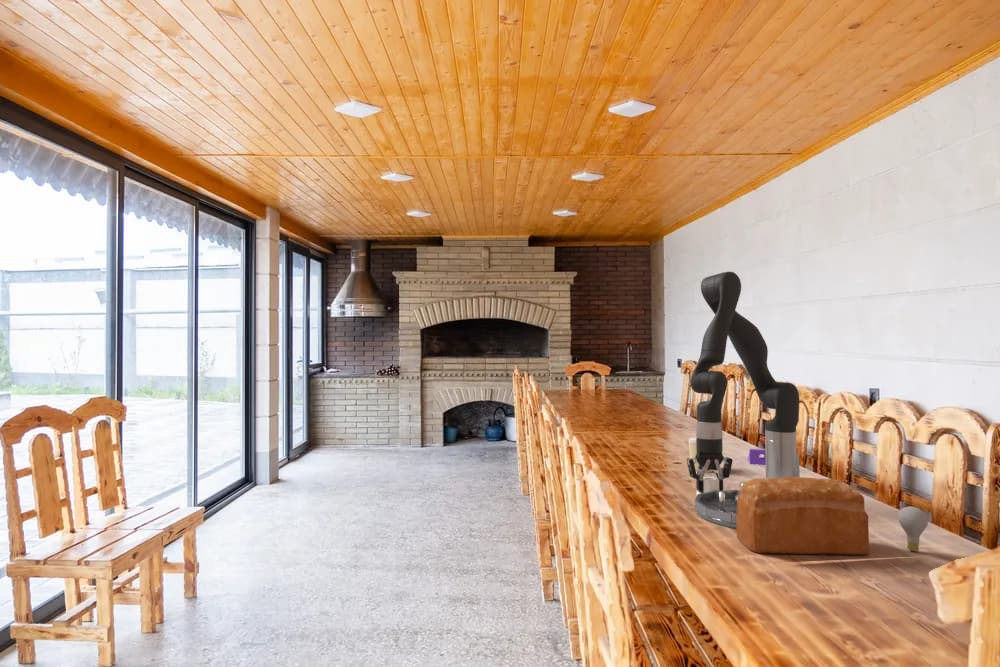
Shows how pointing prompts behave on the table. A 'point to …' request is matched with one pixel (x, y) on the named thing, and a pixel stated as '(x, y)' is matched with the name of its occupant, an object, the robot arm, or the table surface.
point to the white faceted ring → (710, 484)
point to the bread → (802, 517)
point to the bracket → (757, 456)
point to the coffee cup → (694, 451)
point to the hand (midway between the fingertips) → (709, 491)
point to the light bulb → (913, 525)
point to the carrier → (719, 506)
